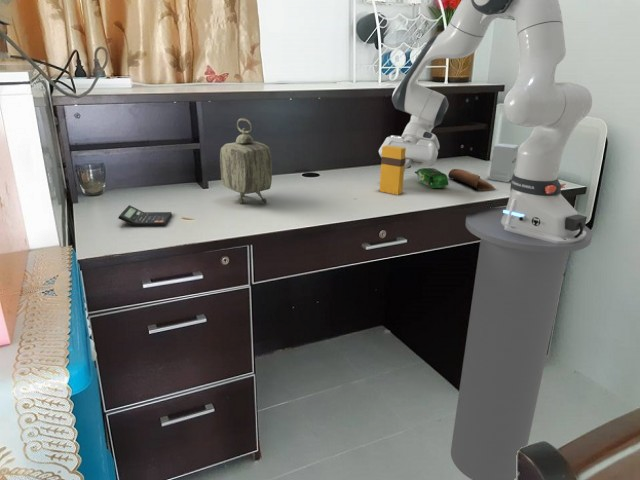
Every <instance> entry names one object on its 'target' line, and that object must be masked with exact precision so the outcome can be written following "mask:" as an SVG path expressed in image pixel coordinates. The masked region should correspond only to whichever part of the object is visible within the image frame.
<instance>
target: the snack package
mask: <svg viewBox="0 0 640 480" xmlns="http://www.w3.org/2000/svg"><path fill="white" fill-rule="evenodd" d="M414 173H415V174H416V175H417V178H418V180H419V181H420V182H421V183H422V184H423V185H425V186H427V187H428V188H431V189H444V188H445V187H446V186H448V185H449V179H448V178H449V177H448V175H447V174H445V173H444V172H442V171H440V170H439V169H437V168H434V167H422V168H419V169H417V170H416V171H414Z"/></svg>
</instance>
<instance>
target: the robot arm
mask: <svg viewBox="0 0 640 480" xmlns="http://www.w3.org/2000/svg"><path fill="white" fill-rule="evenodd" d="M496 19H501V20H511V21H514V22H515V26H516V28H515V30H516V39H517V49H518V63H519V64H518V72H517V76H516V79H515V82H514V84H513V85H512V88H511V89H510V90H509V91H508V92H507V93H506V95H505V97H504V100H503V103H502V104H503V105H502V108H503V114H504V117H505V119H506V120H507V121H508V122H509V123H511V124H513V125H516V126H521V127H527V128H531V127H532V128H533V127H534V128H533V129H532V131H531V133H530V134H529V136H528V138H526V139H525V140H524V141H523V142H522V143H520V145H519V146H518V152H517V158H516V165H515V170H514V174H513V175H512V179H511V180H510V187H509V188H510V194H509V197H508V201H507V204H506V210H503V213H504V215H503V217H502V219H501V224H502V225H503V226H504V230H506V231H510V232H513V233H517V234H521V235H525V236H529V237H533V238H537V239H540V240H544V241H548V242H552V243H556V244H568V243H574V242H577V241H580V240H582V239H584V238H585V237H586V231H584V230H583V228H585V226H586V223H587V219H588V216H585V215H583V214H579V213H578V211H577V209H575V208H574V207H573V205H571V203H570V202H569V201H568V200H567V199H566V198H565V197H564V196H563V194H562V189H565V188H566V183H560V181H559V178H558V176H559V170H560V166H561V161H562V157H563V154H564V150H565V147H566V145H567V143H568V141H569V139H570V138H571V135H572V133H573V132H574V130H575V128H576V127H577V126H578V124H580V123H581V121H583V120H584V119H585V118H586V117H587V116H588V115H589V113H590V112H591V109H592V106H593V97H592V96H593V95H592V93H591V91H590V90H589V89H588V88H587V87H585V86H583V85H580V84H577V83H574V82H556V81H555V76H556V69H557V66H558V65H559V64H560V63H562V62H563V60H564V59H565V57H566V54H567V49H566V40H565V31H564V21H563V15H562V9H561V6H560V2H559V0H461V1H460V2H459V4H458V5H457V7H456V9H455V10H454V12H453V15H452V16H451V19H450V21H449V22H448V24H447V26H446V28H445V29H443V31H441V32H440V33H439V34H433V35H432V36H431V37H430V38H429V40H427V42H426V44H425V45H424V47H423V48H422V50H421V51H420V52H419V54H418V55H417V57H416V59H415V60H414V62H413V63H412V65H411V66H410V68H409V70H408V71H407V73H406V74H405V76H404V77H403V78H402V80H401V81H400V82H398V84H397V85H396V87H395V88H394V90H393V92H392V96H391V102H392V104H393V106H394V108H395V109H396V110H398V111H401V112H404V113H407V114H409V115H410V120H409V122H408V123H407V124H406V126H405V127H404V130H403V132H402V134H401V135H394V134H392V135H389V136H387V137H386V138H385V139H384V141H383V143H382V144H381V145H380V147H379V149H378V154H379V156H380V158H381V157H382V146H386V145H389V146H396V147H403V148H406V153H405V165H404V172H405V171H406V170H407V169H408V168H410V167H411V166H412V164H413V165H419V166H427V167H432V166H434V165H435V163H436V161H437V158H438V155H439V150H440V142H439V140H438V137H437V135H436V134H434V133H433V132H432V130H433V129H434V128H435V127H437V126H438V125H441V124H442V122H443V119H444V116H445V115H446V113H447V111H448V109H449V106H450V105H449V104H450V103H449V101H448V98H447V96H446V95H444V94H442V93H440V92H439V91H436V90H433V89H430V88H428V87H426V86H424V85H421V84H419V83H418V82H417V81H418V79H419V78H420V76H421V75H422V73H423V71H424V70H425V68H426V67H427V66H428V64H430V62H432V61H434V60H439V59H440V60H441V59H448V60H449V59H451V60H455V59H456V60H457V59H463V58H466V57H470V56H471V55H472V54H474V53H475V52H476V50H477V49H478V48H479V46H480V44H481V43H482V41H483V39H484V37H485V36H486V33H487V31H488V29H489V27H490V25H491V23H492V22H493V21H494V20H496Z"/></svg>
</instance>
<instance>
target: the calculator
mask: <svg viewBox="0 0 640 480" xmlns="http://www.w3.org/2000/svg"><path fill="white" fill-rule="evenodd" d="M172 214H173V213H172V211H146V212H145V211H143V210H140V209H138V208H136V207H134V206H132V205H130V204H129V205H128V206H126V208H125V209H124V210H123V211H122V212H121V213H120V214H119V215H118V217H117V219H118V220H120V221H123V222H125V223H126V224H130V225H131V226H134V227H165V226H166V225H167V224H168V222H169V220H170V219H171V217H172Z"/></svg>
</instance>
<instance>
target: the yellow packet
mask: <svg viewBox="0 0 640 480" xmlns="http://www.w3.org/2000/svg"><path fill="white" fill-rule="evenodd" d="M381 146H382V145H381ZM405 153H406V148H403V147H396V146H389V145H386V146H382V157H381V156H380V158H381V159H380V178H379V179H380V180H379V192H381V193H387V194H391V195H401V194H403V191H404V190H403V189H404V177H405V171H404V165H405V163H406V162H405Z"/></svg>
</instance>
